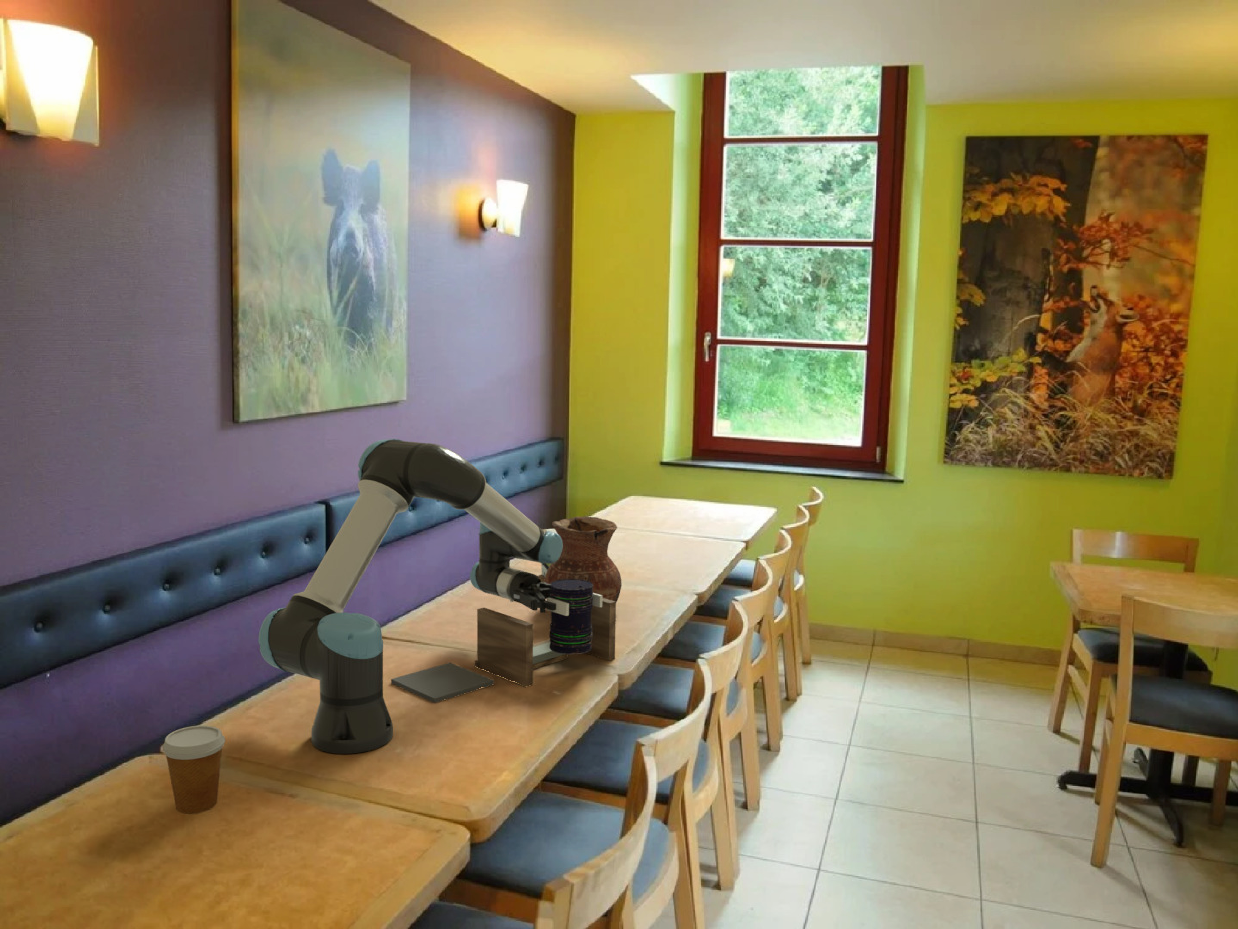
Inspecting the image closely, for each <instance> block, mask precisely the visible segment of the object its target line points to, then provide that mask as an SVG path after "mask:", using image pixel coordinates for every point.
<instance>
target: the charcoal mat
mask: <svg viewBox="0 0 1238 929" xmlns="http://www.w3.org/2000/svg"><path fill="white" fill-rule="evenodd" d="M390 684H391V685H394V686H396V687H398V688H400V687H401V689H402V688H403V689H402V690H405V691H407V692H409V693H411V694H413V693H414V695H416V696H418V697H420V698H423V699H424V700H427V701H428V702H431V703H434V704H436V703H440V702H442V700H443V701H445V700H444V699H446V700H449V699H452V698H456V697H458V695H459V696H462V695H465V694H468V693H471V691H472V692H475V691H477V690H476V689H478V690H480V689H479V688H481V687H485V688H487V686H488V687H491V686H493V685H492V684H494V685H495V680H494V679H492V678H490V677H487V676H485V675H482V674H480V673H477V672H475V671H473V670H470V669H468V668H464V667H462V666H459V665H458V664H455V663H452V662H447V663H444V664H443V663H442V664H440V665H437V666H432V667H429V668H426V669H421V670H418V671H415V672H412V673H408V674H404V675H401V676H396V677H393V678H390ZM490 685H491V686H490ZM474 690H475V691H474ZM464 693H465V694H464ZM461 694H462V695H461ZM455 696H456V697H455Z"/></svg>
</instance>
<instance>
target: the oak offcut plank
mask: <svg viewBox="0 0 1238 929" xmlns="http://www.w3.org/2000/svg"><path fill="white" fill-rule="evenodd" d="M566 659H568V654H564V655H561V656H558V657H555V658H551V659H548V660H545V661H542V662H539V663H536V664H533V670H534V669H537V668H541V667H544V665H545V666H547V664H548V665H550V663H551V664H553V663H552V662H554V663H556V662H559V661H563V660H566Z"/></svg>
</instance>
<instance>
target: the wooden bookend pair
mask: <svg viewBox="0 0 1238 929" xmlns="http://www.w3.org/2000/svg"><path fill="white" fill-rule="evenodd" d="M616 607H617V602H615V601H612V600H608V599H605V598H602V607H597V606H593V608H592V610H591V624H592V642H591V646H592V648H591V650H590V651H588V652H586V654H588V655H592V656H595V657H597V656H599V657H598V658H600V657H601V658H600V659H604V660H606V661H612V660H614V659H616V622H617V620H616V618H617V616H616V615H617V614H616V613H617V608H616ZM476 610H477V611H476V614H477V616H476V617H477V619H476V622H477V624H476V625H477V626H476V628H477V629H476V630H477V631H476V632H477V633H476V634H477V636H476V639H477V640H476V641H477V644H476V645H477V647H476V649H477V652H476V653H477V654H476V656H477V658H476V659H475V660H474V667H475V666H476V667H478V668H477V669H479V668H480V669H479V670H481V669H484V670H486V671H489V672H490V673H489V672H488V673H489V674H491V673H493V674H492V675H494V674H495V675H494V676H496V675H499V676H501V677H504V678H506V679H508V680H507V681H509V680H511V681H515V682H517V683H519V684H521V685H523V686H522V687H524V686H528V687H530V686H529V685H531V686H533V685H534V684H533V683H534V681H533V679H534V675H533V672H534V671H533V670H534V669H533V647H536V646H539V645H542V644H546V643H549V642H550V638H549V639H546V640H542V641H539V642H535V643H534V623H532V622H528V621H525V620H523V619H520V618H518V617H517V618H516V617H514V616H511V615H507V614H505V613H501V612H499V611H497V610H496V611H495V610H493V609H490V608H486V607H481V608H477V609H476ZM476 667H475V668H476ZM484 670H483V671H484ZM486 671H485V672H486ZM499 676H498V677H499ZM501 677H500V678H501ZM504 678H503V679H504ZM506 679H505V680H506ZM511 681H510V682H511ZM519 684H518V685H519ZM532 684H533V685H532ZM521 685H520V686H521Z"/></svg>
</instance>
